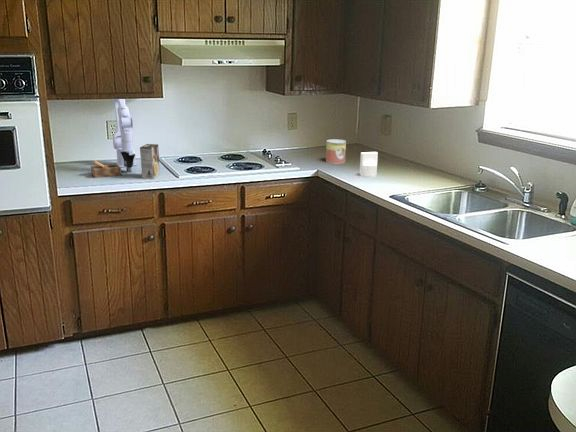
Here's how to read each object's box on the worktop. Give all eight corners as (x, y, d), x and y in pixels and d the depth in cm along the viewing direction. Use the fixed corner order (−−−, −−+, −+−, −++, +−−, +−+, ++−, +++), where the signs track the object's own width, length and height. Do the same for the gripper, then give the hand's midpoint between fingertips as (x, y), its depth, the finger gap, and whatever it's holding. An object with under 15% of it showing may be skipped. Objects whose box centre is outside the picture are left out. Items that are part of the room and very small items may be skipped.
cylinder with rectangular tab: (363, 177, 309) (364, 154, 306) (356, 173, 317) (358, 151, 314) (379, 176, 312) (380, 154, 308) (372, 172, 320) (373, 150, 316)
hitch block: (116, 171, 314) (116, 163, 313) (121, 175, 305) (120, 167, 304) (91, 173, 308) (90, 166, 307) (95, 177, 300) (94, 170, 298)
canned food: (332, 164, 337) (333, 143, 334) (321, 160, 347) (322, 140, 343) (349, 162, 343) (350, 141, 339) (337, 158, 352) (338, 138, 348)
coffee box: (148, 174, 309) (146, 143, 304) (160, 174, 308) (158, 144, 303) (141, 178, 300) (139, 147, 295) (153, 179, 299) (151, 147, 294)
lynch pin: (132, 170, 316) (131, 160, 315) (135, 172, 312) (134, 161, 310) (123, 171, 314) (122, 160, 312) (125, 173, 310) (124, 162, 308)
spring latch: (102, 165, 306) (102, 164, 306) (103, 167, 303) (104, 166, 303) (93, 161, 304) (93, 159, 304) (94, 162, 300) (95, 161, 300)
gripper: (115, 138, 312) (117, 164, 316) (122, 143, 300) (124, 169, 304) (129, 137, 315) (130, 162, 320) (136, 142, 303) (138, 168, 307)
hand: (128, 166), depth 312 cm, fingers closed on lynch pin, 5 cm apart
